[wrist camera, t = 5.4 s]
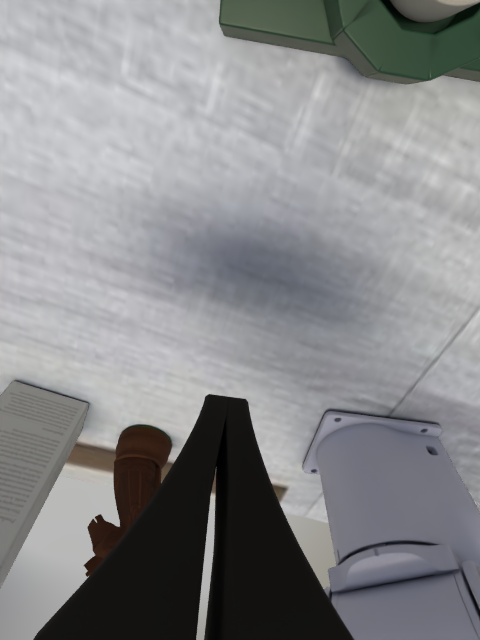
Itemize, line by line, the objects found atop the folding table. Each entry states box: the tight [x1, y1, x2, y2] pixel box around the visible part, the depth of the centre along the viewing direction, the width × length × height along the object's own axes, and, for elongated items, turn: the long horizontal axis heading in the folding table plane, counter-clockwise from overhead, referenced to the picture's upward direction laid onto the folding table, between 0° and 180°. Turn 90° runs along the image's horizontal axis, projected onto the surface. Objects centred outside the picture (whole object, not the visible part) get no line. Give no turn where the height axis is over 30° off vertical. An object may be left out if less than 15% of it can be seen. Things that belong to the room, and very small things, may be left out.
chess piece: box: [84, 426, 171, 577], centre depth 24 cm, size 5×5×10 cm
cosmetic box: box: [0, 381, 89, 588], centre depth 22 cm, size 6×4×12 cm
